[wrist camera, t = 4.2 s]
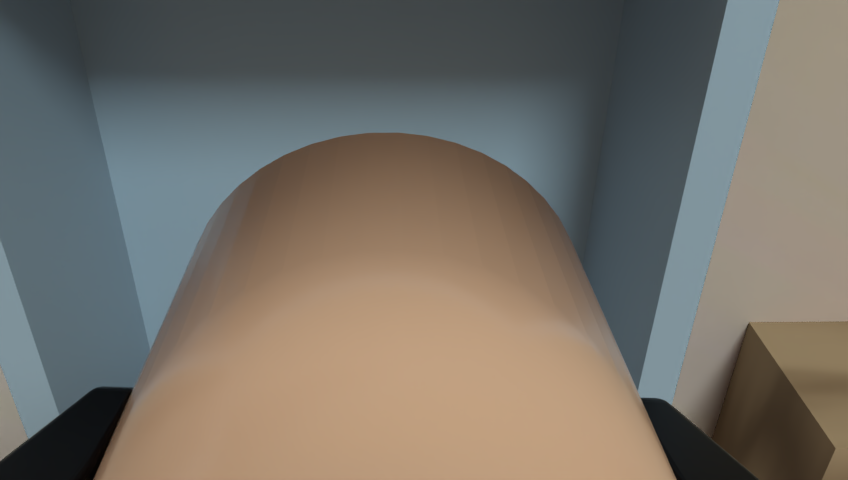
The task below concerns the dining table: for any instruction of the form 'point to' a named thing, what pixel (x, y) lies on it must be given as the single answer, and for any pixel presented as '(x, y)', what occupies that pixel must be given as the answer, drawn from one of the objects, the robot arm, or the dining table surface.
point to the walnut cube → (789, 402)
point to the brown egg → (384, 333)
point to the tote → (341, 116)
